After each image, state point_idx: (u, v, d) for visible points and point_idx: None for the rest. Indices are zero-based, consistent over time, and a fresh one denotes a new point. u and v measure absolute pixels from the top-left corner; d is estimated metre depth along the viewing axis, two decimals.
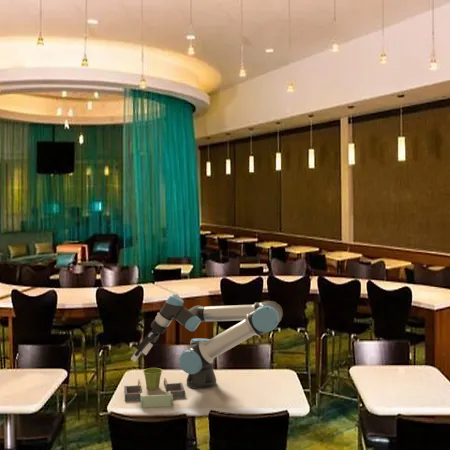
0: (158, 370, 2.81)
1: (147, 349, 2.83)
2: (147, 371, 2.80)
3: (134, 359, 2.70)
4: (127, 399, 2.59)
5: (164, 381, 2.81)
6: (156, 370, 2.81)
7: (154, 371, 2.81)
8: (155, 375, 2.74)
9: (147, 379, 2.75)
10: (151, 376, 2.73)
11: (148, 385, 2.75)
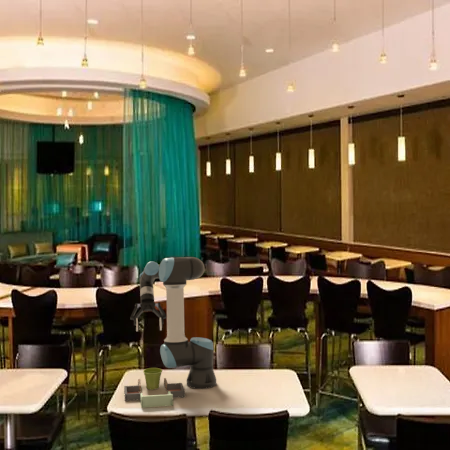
0: (158, 370, 2.81)
1: (160, 324, 3.03)
2: (147, 371, 2.80)
3: (136, 327, 2.99)
4: (127, 399, 2.59)
5: (164, 381, 2.81)
6: (156, 370, 2.81)
7: (154, 371, 2.81)
8: (155, 375, 2.74)
9: (147, 379, 2.75)
10: (151, 376, 2.73)
11: (148, 385, 2.75)
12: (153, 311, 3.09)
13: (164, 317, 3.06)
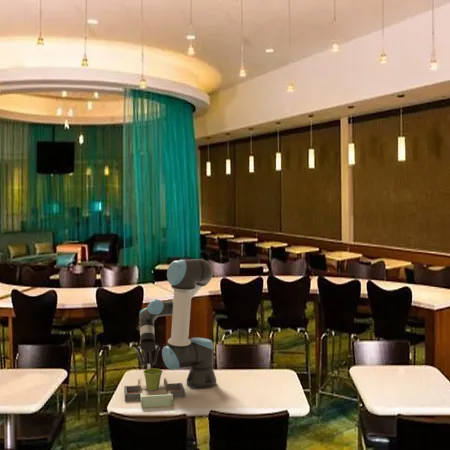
0: (158, 370, 2.80)
1: None
2: (147, 372, 2.79)
3: None
4: (127, 399, 2.59)
5: (164, 381, 2.81)
6: (155, 370, 2.80)
7: (153, 372, 2.80)
8: (156, 376, 2.73)
9: (148, 380, 2.73)
10: (152, 377, 2.72)
11: (149, 386, 2.74)
12: (149, 353, 2.90)
13: (154, 363, 2.86)
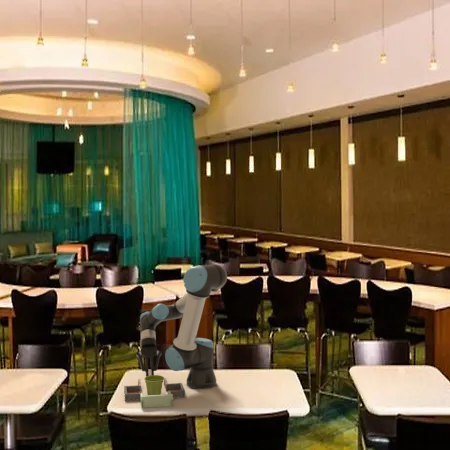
0: (159, 377, 2.69)
1: None
2: (147, 379, 2.68)
3: None
4: (127, 399, 2.59)
5: (164, 381, 2.81)
6: (156, 377, 2.70)
7: (154, 378, 2.69)
8: (158, 383, 2.62)
9: (149, 387, 2.62)
10: (153, 384, 2.61)
11: (150, 393, 2.63)
12: (150, 359, 2.79)
13: (155, 369, 2.75)
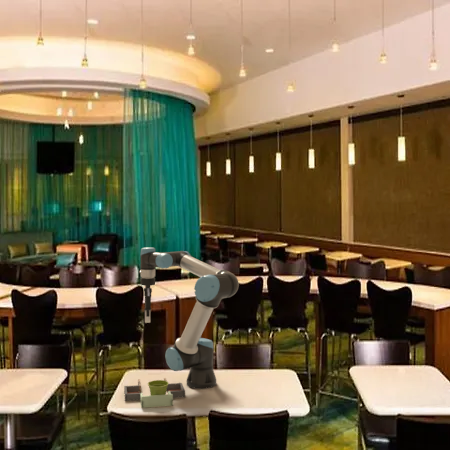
0: (163, 382, 2.62)
1: None
2: (151, 384, 2.61)
3: (148, 320, 2.91)
4: (127, 399, 2.59)
5: None
6: (160, 382, 2.62)
7: (158, 384, 2.62)
8: (162, 388, 2.55)
9: (153, 393, 2.55)
10: (157, 389, 2.54)
11: None
12: None
13: None
